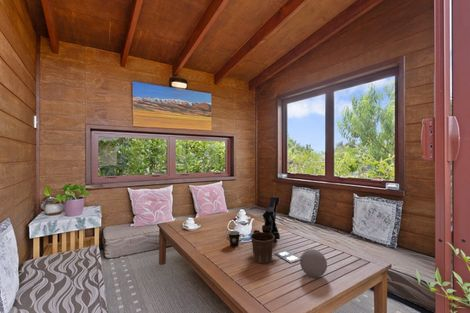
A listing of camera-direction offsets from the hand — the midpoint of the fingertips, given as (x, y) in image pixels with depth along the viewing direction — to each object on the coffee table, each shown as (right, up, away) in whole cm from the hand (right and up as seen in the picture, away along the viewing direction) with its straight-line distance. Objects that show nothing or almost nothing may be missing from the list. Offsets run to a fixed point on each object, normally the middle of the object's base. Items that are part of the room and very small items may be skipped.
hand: (264, 245), depth 162 cm
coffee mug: (-20, -7, +18) cm, 28 cm away
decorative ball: (+25, -7, -27) cm, 38 cm away
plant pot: (-2, -7, -6) cm, 10 cm away
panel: (+16, -7, -3) cm, 17 cm away
